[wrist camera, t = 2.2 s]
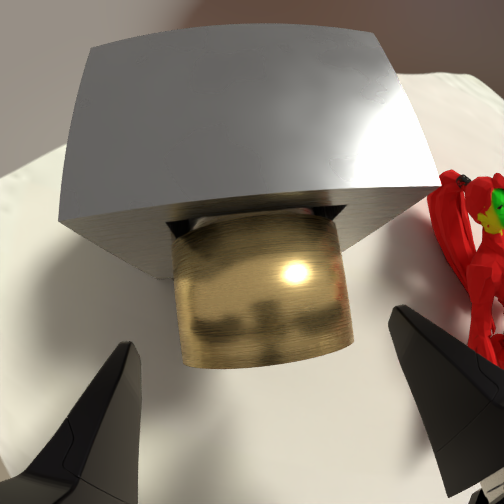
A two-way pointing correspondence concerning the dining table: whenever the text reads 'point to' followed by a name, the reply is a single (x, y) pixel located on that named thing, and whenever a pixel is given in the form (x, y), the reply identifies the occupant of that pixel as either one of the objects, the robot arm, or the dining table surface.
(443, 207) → the figurine
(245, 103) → the housing
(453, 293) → the dining table surface
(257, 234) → the gold cylindrical piece
